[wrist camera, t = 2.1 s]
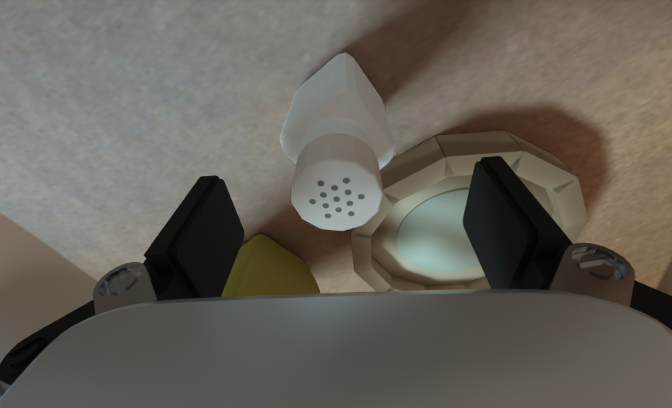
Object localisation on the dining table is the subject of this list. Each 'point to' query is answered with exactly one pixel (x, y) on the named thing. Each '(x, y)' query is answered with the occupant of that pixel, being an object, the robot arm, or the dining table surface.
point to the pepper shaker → (337, 146)
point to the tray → (451, 210)
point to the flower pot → (268, 271)
